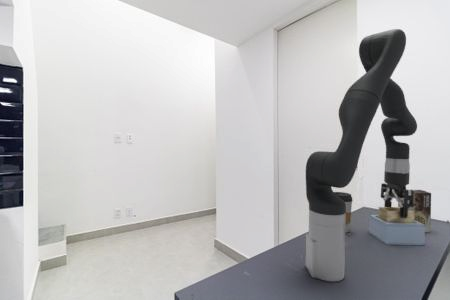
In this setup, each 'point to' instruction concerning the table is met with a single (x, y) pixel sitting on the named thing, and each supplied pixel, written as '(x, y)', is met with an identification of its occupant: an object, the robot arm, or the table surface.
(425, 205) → the coffee box
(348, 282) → the table surface
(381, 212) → the small crate
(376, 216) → the base crate
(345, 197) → the coffee cup
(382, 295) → the table surface
